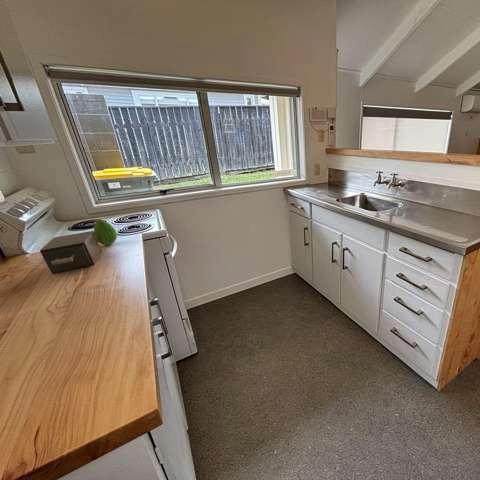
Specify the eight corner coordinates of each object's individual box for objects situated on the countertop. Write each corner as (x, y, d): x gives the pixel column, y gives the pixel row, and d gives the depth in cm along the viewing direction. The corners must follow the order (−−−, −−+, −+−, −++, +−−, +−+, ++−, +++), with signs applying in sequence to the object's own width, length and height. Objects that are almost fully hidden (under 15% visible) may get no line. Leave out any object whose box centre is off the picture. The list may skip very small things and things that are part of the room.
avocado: (103, 249, 114) (93, 223, 109) (95, 246, 118) (85, 221, 113) (123, 242, 120) (114, 218, 115) (115, 239, 124) (106, 216, 119)
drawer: (87, 269, 95) (79, 250, 92) (46, 278, 90) (35, 258, 87) (98, 251, 110) (91, 234, 106) (63, 258, 105) (54, 241, 101)
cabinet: (94, 264, 100) (84, 242, 96) (51, 273, 95) (39, 250, 91) (101, 251, 112) (93, 230, 108) (64, 258, 106) (53, 237, 103)
